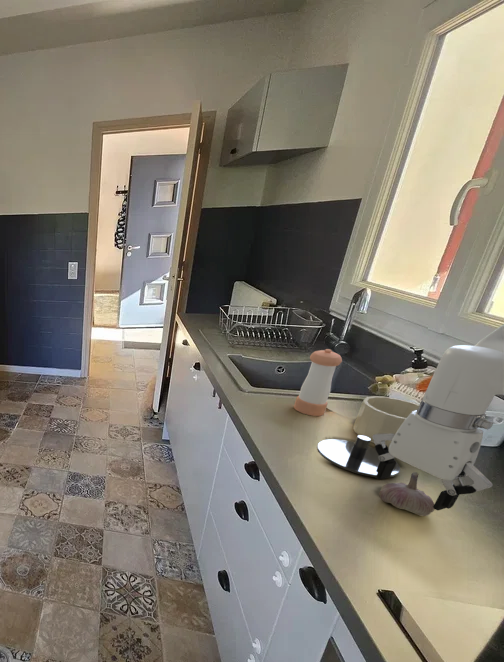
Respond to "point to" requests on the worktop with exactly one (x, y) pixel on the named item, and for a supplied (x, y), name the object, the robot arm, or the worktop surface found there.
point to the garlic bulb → (407, 497)
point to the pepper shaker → (317, 383)
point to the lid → (353, 455)
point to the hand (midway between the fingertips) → (409, 491)
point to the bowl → (382, 416)
